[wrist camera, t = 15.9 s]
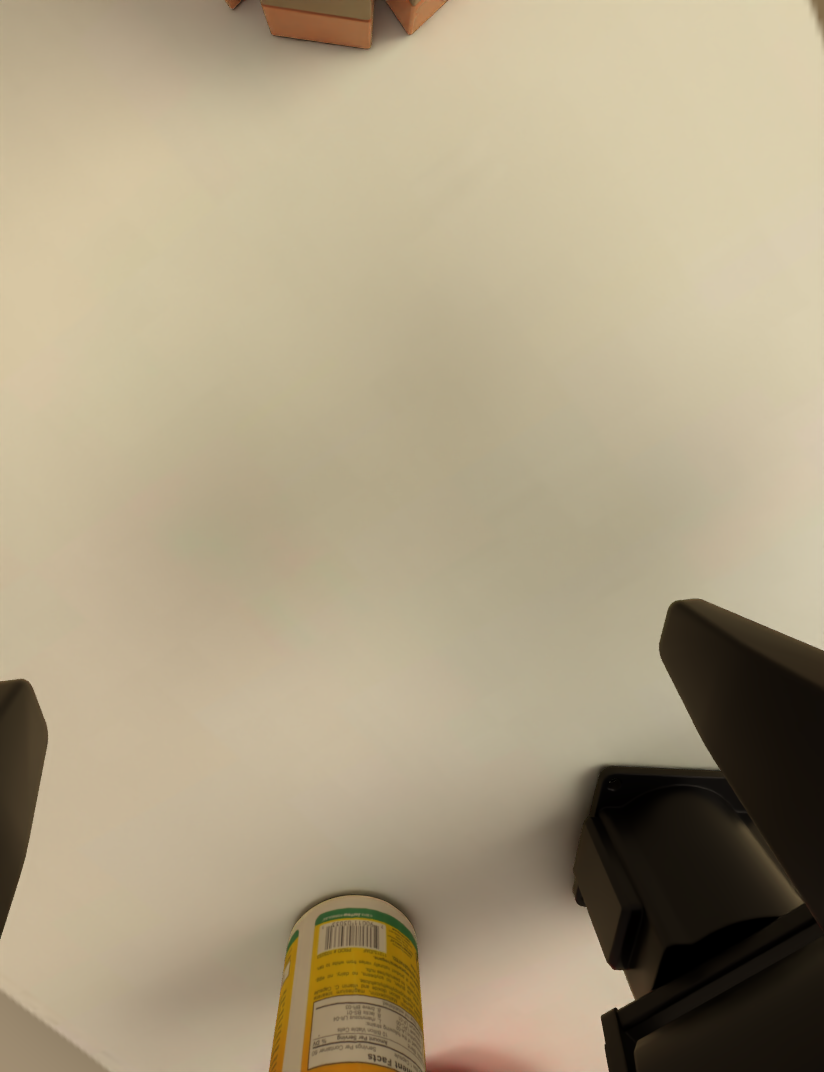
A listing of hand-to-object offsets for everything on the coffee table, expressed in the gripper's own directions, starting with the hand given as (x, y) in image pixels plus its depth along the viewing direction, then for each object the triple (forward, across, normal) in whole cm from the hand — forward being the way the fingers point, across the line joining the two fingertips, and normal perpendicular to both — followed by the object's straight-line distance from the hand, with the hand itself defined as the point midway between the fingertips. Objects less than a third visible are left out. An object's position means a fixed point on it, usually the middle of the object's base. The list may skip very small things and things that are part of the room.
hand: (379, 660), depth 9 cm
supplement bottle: (+8, 0, +22) cm, 23 cm away
